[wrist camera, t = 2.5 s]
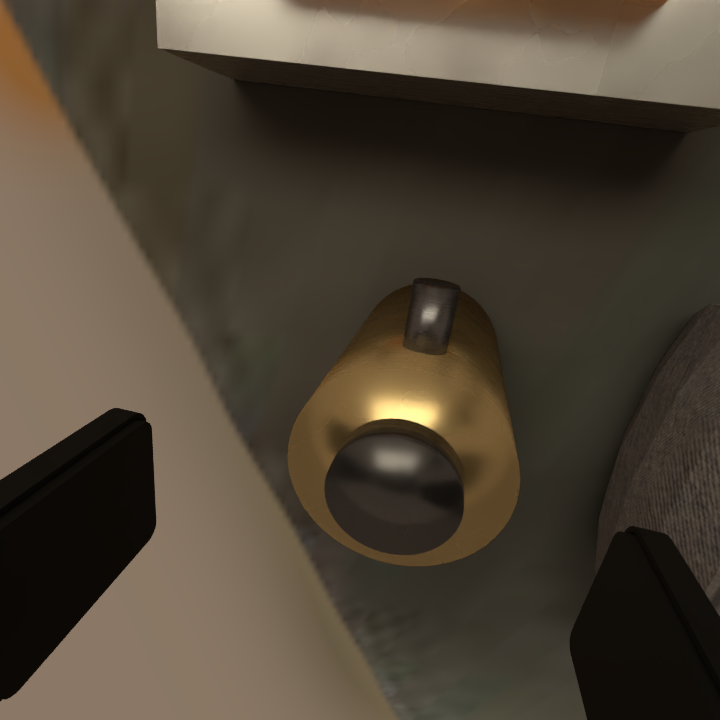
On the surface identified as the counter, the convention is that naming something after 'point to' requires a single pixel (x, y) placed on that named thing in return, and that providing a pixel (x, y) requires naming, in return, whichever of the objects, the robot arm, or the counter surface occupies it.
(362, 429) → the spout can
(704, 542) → the grey rounded bag
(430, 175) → the counter surface
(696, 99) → the orange white open box
